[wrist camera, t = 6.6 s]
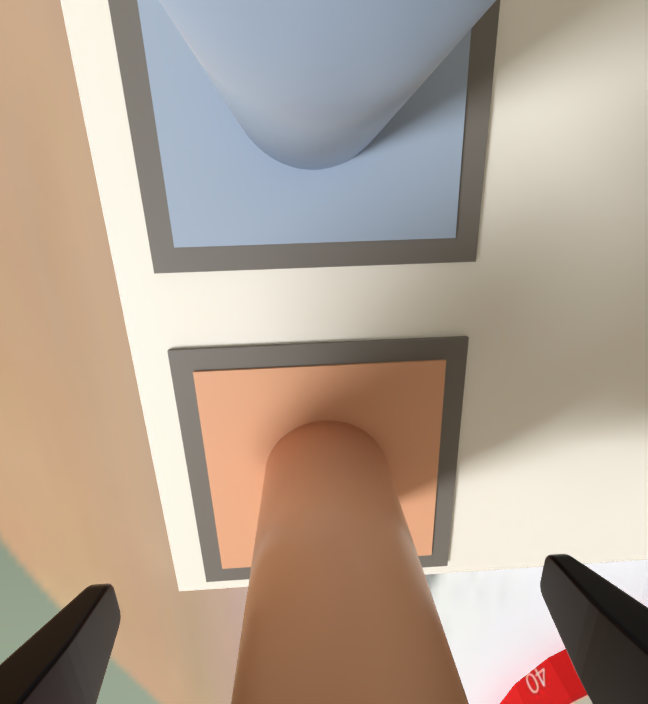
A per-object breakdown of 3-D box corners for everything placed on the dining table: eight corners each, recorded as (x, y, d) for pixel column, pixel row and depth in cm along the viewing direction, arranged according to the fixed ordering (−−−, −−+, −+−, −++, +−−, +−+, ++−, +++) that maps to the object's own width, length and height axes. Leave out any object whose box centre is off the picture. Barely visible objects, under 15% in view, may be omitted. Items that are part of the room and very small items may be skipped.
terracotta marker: (387, 417, 11) (661, 1059, 3) (385, 519, 12) (568, 1190, 4) (260, 424, 11) (117, 1123, 3) (269, 526, 12) (194, 1241, 4)
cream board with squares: (1070, -168, 9) (1442, -353, 6) (773, 527, 15) (883, 600, 12) (49, -174, 8) (-95, -395, 5) (187, 566, 14) (158, 653, 11)
